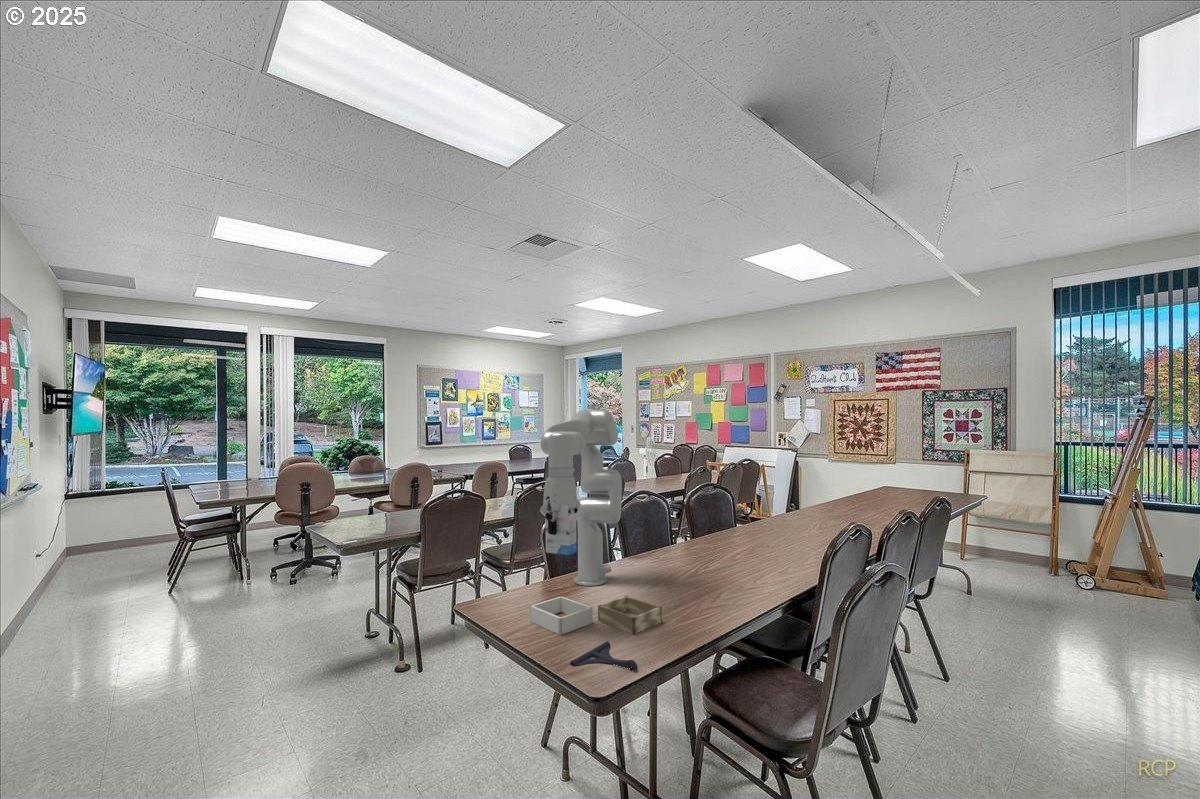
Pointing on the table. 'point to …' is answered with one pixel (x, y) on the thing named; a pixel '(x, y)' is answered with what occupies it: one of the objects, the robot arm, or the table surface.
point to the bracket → (602, 658)
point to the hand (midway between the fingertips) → (561, 531)
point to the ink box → (562, 533)
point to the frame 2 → (616, 618)
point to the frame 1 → (560, 625)
